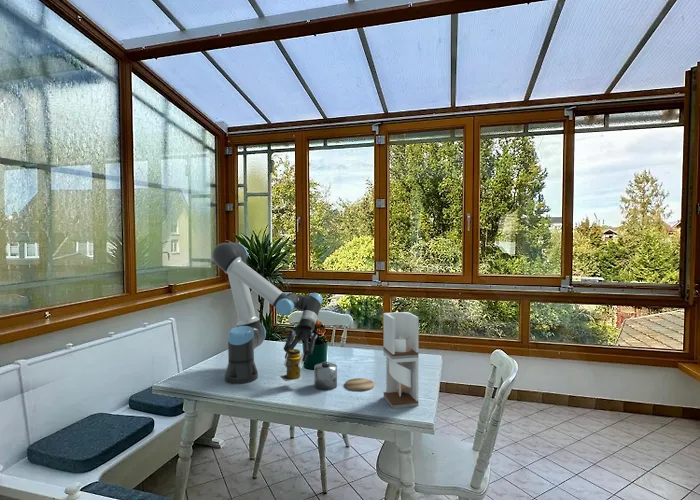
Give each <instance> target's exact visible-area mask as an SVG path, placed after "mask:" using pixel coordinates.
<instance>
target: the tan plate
mask: <svg viewBox="0 0 700 500" xmlns="http://www.w3.org/2000/svg"><path fill="white" fill-rule="evenodd" d="M344 387H345V388H346V390H350V391H352V392H366V391H369V390H370V391H371V390H372V389H374V387H375V383H374V381H373V380H371V379H367V378H361V377H360V378H359V377H358V378H351V379H348V380H346V381H345V382H344Z"/></svg>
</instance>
